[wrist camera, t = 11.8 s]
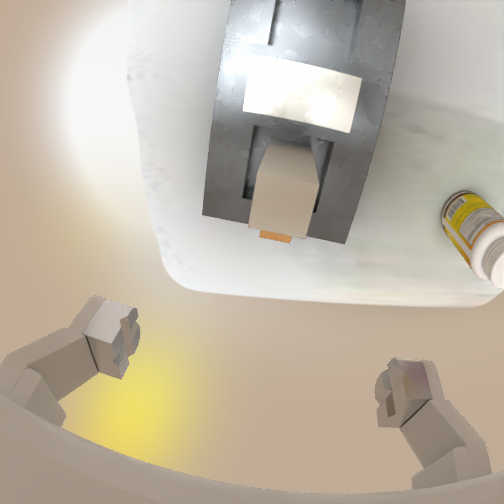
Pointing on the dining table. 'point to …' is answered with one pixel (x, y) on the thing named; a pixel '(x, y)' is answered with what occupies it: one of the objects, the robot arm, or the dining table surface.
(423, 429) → the robot arm
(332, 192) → the panel
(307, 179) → the plug
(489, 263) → the supplement bottle
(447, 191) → the dining table surface
